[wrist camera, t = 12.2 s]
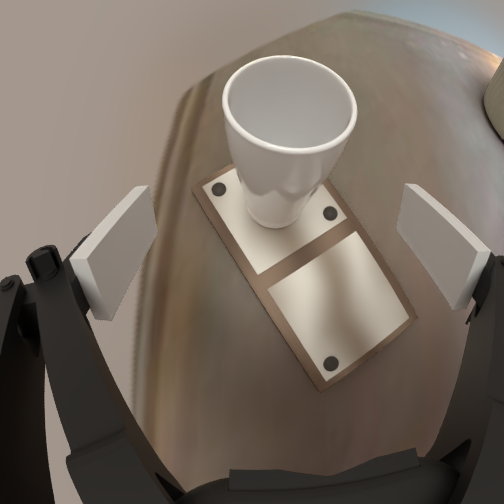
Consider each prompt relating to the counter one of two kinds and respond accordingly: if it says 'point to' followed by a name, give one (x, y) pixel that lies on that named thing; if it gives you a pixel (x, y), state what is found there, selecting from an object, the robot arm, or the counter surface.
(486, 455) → the robot arm
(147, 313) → the counter surface
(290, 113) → the white cup
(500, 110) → the canister
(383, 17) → the counter surface
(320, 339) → the coaster board
